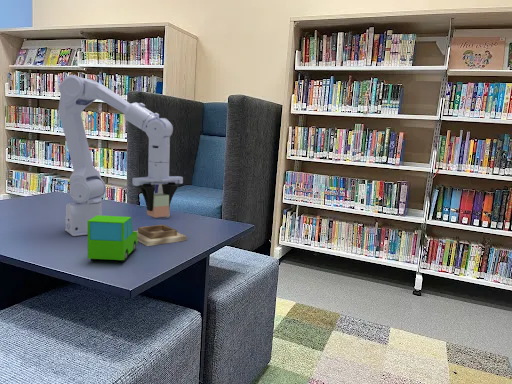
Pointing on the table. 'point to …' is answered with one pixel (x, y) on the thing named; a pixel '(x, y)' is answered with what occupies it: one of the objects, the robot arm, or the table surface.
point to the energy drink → (159, 190)
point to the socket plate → (158, 235)
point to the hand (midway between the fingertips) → (158, 209)
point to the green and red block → (160, 205)
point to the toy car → (110, 238)
